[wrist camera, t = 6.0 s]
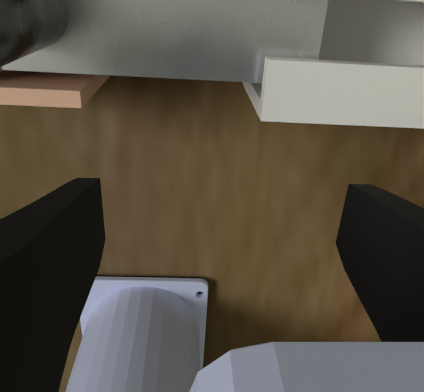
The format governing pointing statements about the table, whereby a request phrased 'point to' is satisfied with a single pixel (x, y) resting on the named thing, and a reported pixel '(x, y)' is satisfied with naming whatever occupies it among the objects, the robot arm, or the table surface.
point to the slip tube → (158, 36)
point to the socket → (48, 88)
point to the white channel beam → (352, 70)
